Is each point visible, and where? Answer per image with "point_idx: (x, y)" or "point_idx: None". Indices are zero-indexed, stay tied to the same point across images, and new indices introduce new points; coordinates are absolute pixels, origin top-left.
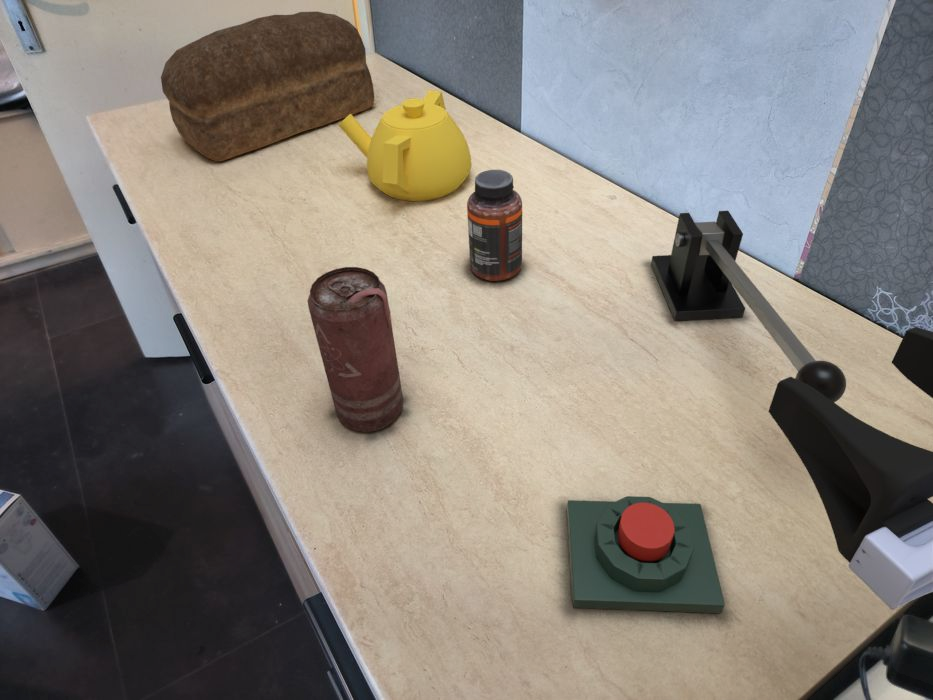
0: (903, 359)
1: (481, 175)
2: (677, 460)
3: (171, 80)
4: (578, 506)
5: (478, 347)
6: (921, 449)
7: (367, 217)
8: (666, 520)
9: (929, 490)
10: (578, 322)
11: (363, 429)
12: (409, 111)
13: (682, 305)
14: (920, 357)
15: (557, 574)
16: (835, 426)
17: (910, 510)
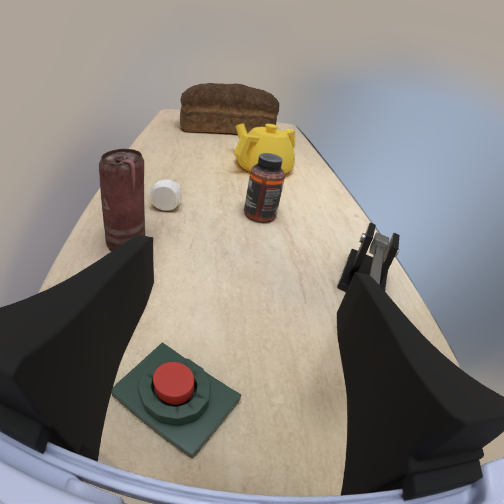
0: (343, 311)
1: (266, 153)
2: (259, 364)
3: (183, 94)
4: (164, 349)
5: (208, 243)
6: (41, 342)
7: (220, 169)
8: (188, 384)
9: (17, 403)
10: (278, 260)
11: (110, 247)
12: (267, 128)
13: (346, 280)
14: (352, 311)
15: (122, 375)
16: (70, 278)
17: (6, 409)
